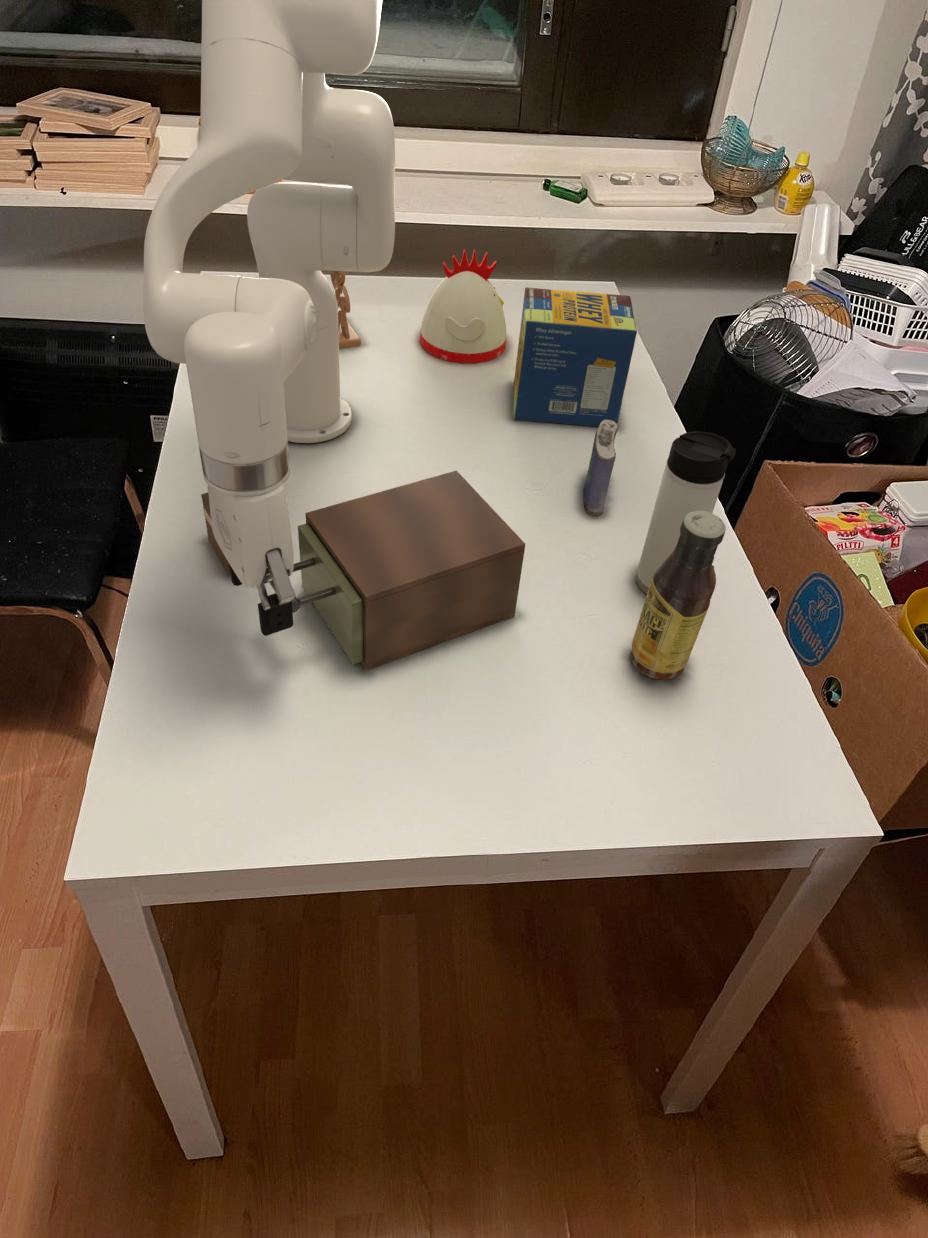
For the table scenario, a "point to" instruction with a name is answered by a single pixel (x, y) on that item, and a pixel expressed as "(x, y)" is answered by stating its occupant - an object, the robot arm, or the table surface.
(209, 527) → the snack box
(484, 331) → the kitchen timer
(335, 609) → the drawer
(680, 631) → the sauce bottle
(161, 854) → the table surface
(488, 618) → the cabinet
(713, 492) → the travel mug
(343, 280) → the wooden sculpture
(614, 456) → the flask
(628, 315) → the protein box
